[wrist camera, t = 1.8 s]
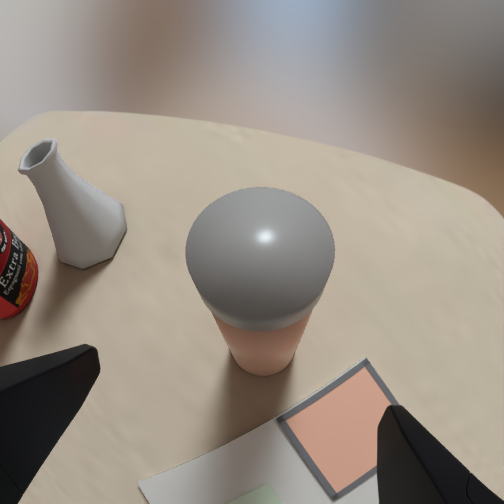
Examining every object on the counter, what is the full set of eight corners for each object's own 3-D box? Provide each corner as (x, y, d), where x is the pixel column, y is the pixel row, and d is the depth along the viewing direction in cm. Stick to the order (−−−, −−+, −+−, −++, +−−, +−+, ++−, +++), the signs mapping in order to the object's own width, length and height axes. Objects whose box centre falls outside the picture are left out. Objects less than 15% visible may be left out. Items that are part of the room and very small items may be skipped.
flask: (121, 268, 23) (59, 184, 15) (52, 272, 23) (-17, 203, 15) (134, 197, 27) (94, 109, 18) (70, 207, 27) (21, 133, 18)
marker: (251, 390, 19) (230, 346, 8) (217, 333, 21) (163, 225, 10) (309, 354, 20) (364, 264, 9) (273, 301, 22) (280, 169, 11)
